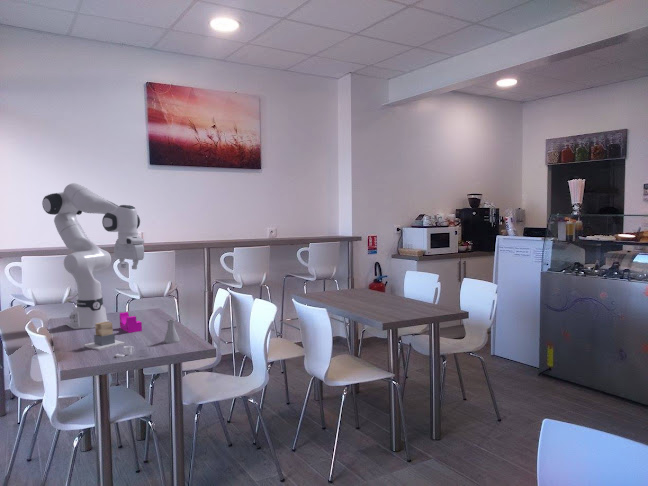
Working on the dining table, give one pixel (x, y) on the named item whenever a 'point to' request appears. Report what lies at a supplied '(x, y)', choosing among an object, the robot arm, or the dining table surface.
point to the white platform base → (104, 342)
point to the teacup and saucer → (126, 351)
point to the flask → (171, 333)
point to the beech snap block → (103, 328)
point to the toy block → (129, 323)
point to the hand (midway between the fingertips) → (128, 268)
